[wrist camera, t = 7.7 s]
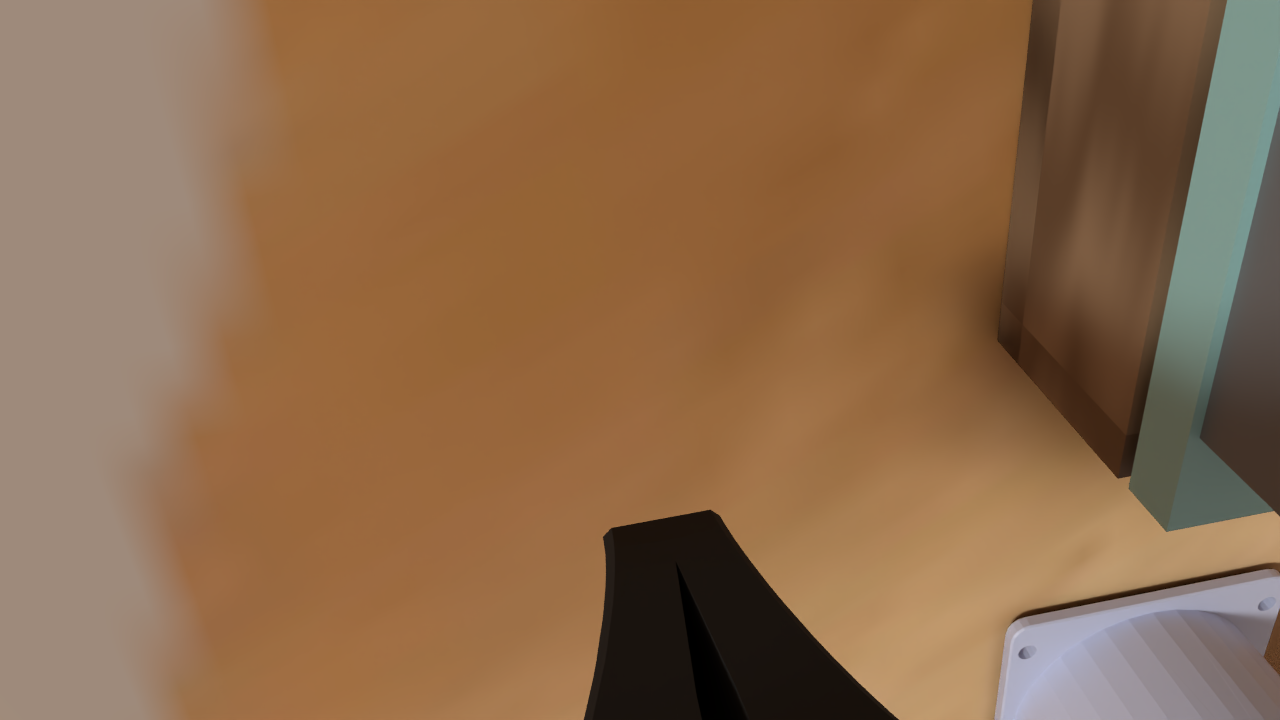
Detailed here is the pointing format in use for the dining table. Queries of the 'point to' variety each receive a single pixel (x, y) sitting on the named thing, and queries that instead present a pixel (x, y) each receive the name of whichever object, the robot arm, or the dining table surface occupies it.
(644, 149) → the dining table surface
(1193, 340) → the lid
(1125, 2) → the crate
